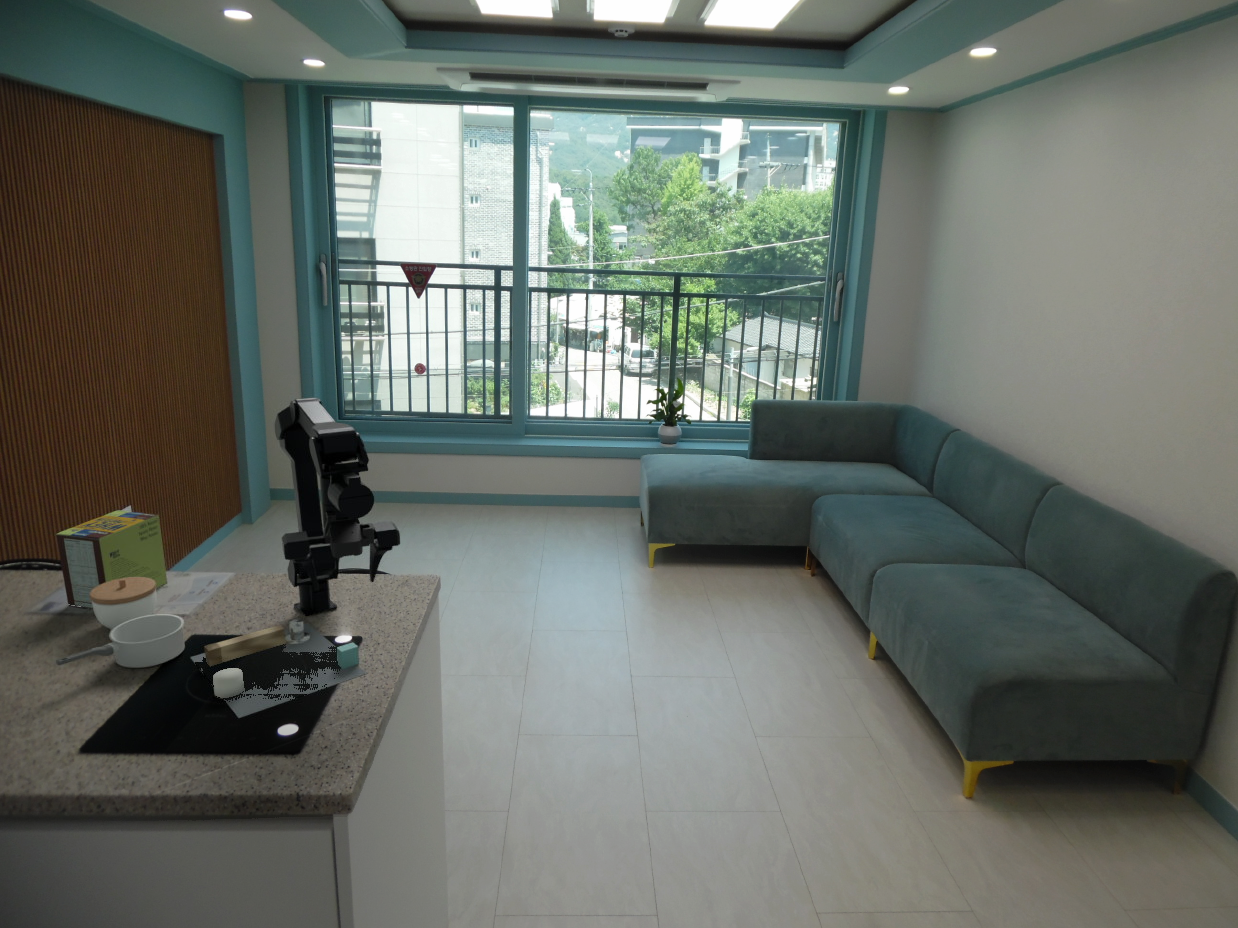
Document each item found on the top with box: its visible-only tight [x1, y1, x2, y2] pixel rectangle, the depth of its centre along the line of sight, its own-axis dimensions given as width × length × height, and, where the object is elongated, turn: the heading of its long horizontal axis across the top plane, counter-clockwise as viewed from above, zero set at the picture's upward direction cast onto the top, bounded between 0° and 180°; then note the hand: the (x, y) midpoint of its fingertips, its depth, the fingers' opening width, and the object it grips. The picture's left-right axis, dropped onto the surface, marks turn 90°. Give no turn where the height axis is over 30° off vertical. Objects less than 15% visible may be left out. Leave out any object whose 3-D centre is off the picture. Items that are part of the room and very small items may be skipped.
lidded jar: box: [90, 577, 158, 631], centre depth 154 cm, size 11×11×9 cm
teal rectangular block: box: [336, 641, 360, 669], centre depth 142 cm, size 2×3×4 cm, turn 132°
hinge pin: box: [285, 618, 310, 644], centre depth 151 cm, size 4×4×4 cm
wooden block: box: [204, 624, 286, 667], centre depth 145 cm, size 13×2×3 cm, turn 132°
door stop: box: [212, 668, 244, 699], centre depth 133 cm, size 4×4×3 cm
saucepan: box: [56, 613, 186, 668], centre depth 140 cm, size 12×20×6 cm, turn 147°
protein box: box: [55, 509, 168, 610], centre depth 167 cm, size 10×15×16 cm
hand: (344, 585), depth 142 cm, fingers open, 9 cm apart
